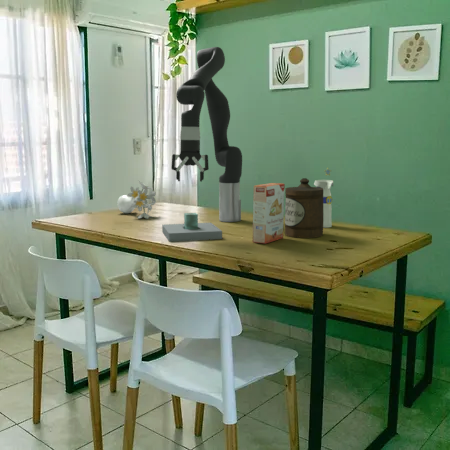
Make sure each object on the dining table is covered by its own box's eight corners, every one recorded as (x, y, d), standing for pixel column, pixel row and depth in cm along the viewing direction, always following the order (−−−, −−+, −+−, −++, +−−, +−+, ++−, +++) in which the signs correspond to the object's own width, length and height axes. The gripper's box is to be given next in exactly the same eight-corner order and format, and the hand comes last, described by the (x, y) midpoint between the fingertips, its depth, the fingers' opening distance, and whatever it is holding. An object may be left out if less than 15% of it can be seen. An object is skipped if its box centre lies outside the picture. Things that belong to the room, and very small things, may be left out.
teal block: (195, 234, 218) (195, 212, 217) (198, 236, 214) (197, 214, 213) (184, 234, 217) (184, 213, 216) (186, 236, 213) (186, 214, 212)
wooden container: (278, 232, 221) (279, 177, 218) (311, 230, 226) (312, 176, 222) (295, 239, 207) (296, 180, 204) (330, 236, 212) (331, 179, 209)
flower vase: (119, 227, 273) (142, 220, 253) (107, 191, 271) (129, 182, 251) (141, 220, 280) (165, 213, 260) (129, 185, 279) (153, 175, 259)
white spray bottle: (337, 226, 235) (339, 167, 231) (323, 228, 230) (325, 168, 226) (322, 223, 241) (324, 166, 237) (308, 225, 236) (310, 167, 232)
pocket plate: (211, 229, 227) (210, 222, 227) (222, 238, 208) (222, 231, 208) (162, 231, 223) (162, 224, 222) (169, 241, 204) (168, 233, 203)
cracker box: (266, 244, 198) (267, 186, 194) (251, 242, 201) (252, 185, 198) (284, 238, 209) (285, 182, 206) (270, 236, 213) (271, 182, 209)
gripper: (207, 139, 217) (207, 180, 220) (171, 138, 216) (171, 180, 218) (209, 139, 210) (208, 182, 212) (171, 138, 208) (171, 181, 211)
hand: (189, 181), depth 215 cm, fingers open, 8 cm apart
